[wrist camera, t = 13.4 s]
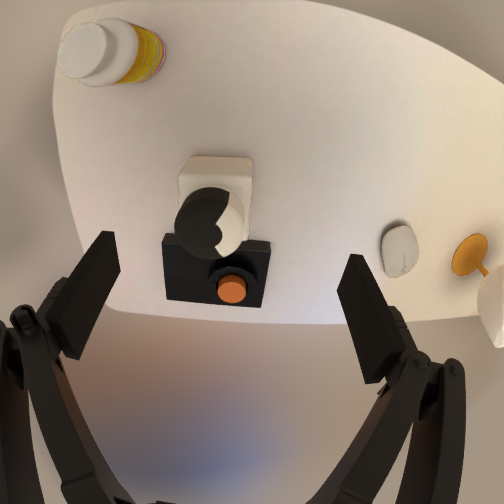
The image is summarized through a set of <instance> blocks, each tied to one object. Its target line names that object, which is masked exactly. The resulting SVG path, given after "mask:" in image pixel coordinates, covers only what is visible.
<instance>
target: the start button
mask: <svg viewBox="0 0 504 504" xmlns="http://www.w3.org/2000/svg"><path fill="white" fill-rule="evenodd" d="M218 295H219V297H220V298H221V299H222V300H223V301H225V302H228V303H236V302H239V301H241V300H242V299H243V298H244V297H245V295H246V283H245V281H244V280H243V279H242V278H241V277H239V276H236V275H227V276H225V277H223V278H222V279H221V280H220V281H219V285H218Z"/></svg>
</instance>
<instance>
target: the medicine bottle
mask: <svg viewBox="0 0 504 504" xmlns="http://www.w3.org/2000/svg"><path fill="white" fill-rule="evenodd" d="M251 192H252V160H251V159H250V158H238V157H213V156H192V157H191V158H190V159H189V160H188V162H187V163H186V165H185V166H184V167H183V169H182V170H181V172H180V173H179V175H178V197H179V212H178V214H177V217H176V219H175V225H174V229H175V234H176V237H177V240H178V241H179V243H180V244H181V246H182V247H183V248H184V249H185V250H186V251H188V252H189V253H190V254H192V255H194V256H197V257H199V258H203V259H219V258H223V257H226V256H228V255H230V254H231V253H233V252H234V251H235V250H236V249H237V248H238V247H239V245H240V244H241V242H242V241H246V240H247V239H248V233H249V219H250V206H251Z"/></svg>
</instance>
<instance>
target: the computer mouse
mask: <svg viewBox="0 0 504 504" xmlns="http://www.w3.org/2000/svg"><path fill="white" fill-rule="evenodd" d="M381 255H382V260H383V264H384V268H385V273H386V275H387V276H388V277H391V278H396V277H399V276H402V275H404V274H406V273H408V272H409V271H410V270H411V269H412V268H413V267H414V266H415V264H416V262H417V260H418V256H419V246H418V241H417V238H416V236H415V233H414V232H413V230H412V229H411V228H410V227H409V226H406V225H402V226H398V227H395V228H393V229H391V230H389V231H388V232H387V233H386V234H385V235H384V237H383V240H382V245H381Z"/></svg>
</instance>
